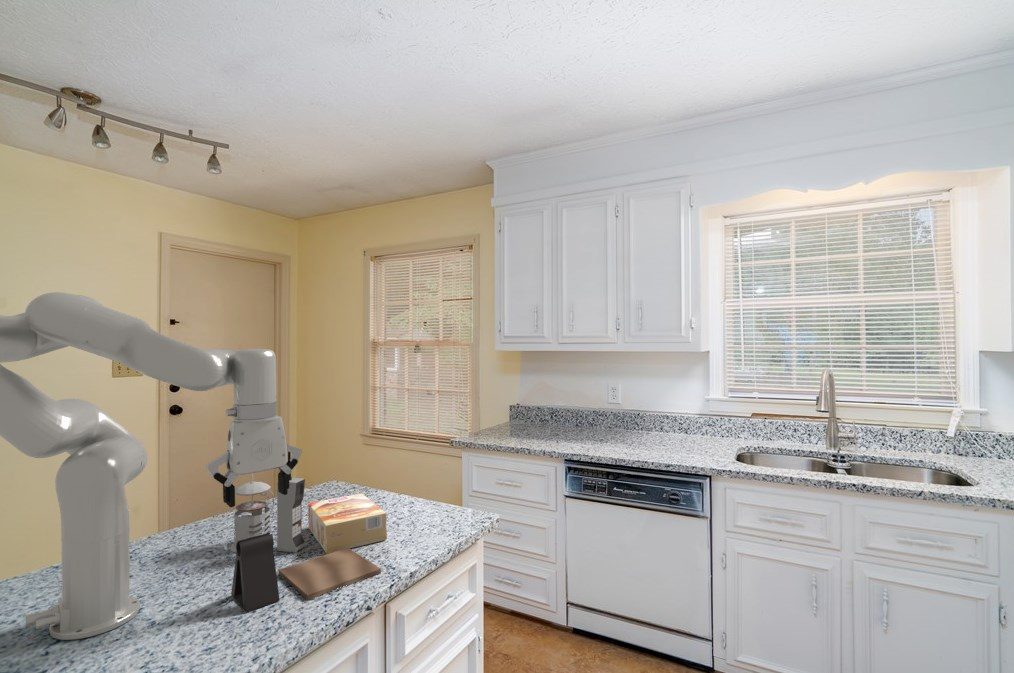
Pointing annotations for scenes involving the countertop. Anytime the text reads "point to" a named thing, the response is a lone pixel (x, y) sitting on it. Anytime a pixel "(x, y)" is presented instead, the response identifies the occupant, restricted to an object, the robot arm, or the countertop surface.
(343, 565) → the walnut board
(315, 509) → the coffeecake box
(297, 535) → the vintage mobile phone
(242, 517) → the french press
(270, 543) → the phone stand
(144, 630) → the countertop surface
